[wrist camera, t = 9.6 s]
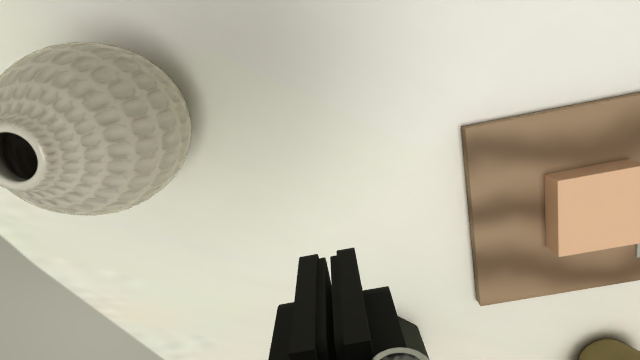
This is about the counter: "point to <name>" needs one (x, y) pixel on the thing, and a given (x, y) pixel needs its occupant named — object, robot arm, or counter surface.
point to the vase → (89, 129)
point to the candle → (412, 336)
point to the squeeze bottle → (609, 351)
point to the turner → (637, 250)
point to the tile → (593, 207)
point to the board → (541, 196)
